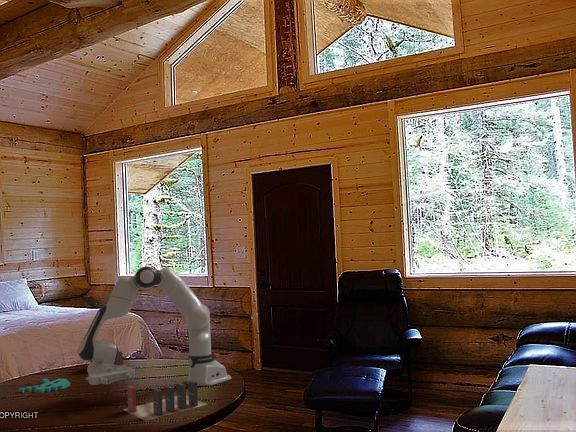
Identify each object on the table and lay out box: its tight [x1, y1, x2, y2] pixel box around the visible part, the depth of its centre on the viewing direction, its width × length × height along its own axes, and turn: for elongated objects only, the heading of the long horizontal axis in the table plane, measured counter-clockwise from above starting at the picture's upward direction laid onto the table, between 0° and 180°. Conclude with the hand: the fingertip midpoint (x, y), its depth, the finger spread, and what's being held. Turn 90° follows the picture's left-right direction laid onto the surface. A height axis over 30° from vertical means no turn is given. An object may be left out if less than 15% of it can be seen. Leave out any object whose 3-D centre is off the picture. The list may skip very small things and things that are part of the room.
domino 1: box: [152, 387, 163, 416], centre depth 225 cm, size 2×5×10 cm, turn 39°
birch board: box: [122, 395, 208, 422], centre depth 235 cm, size 29×22×1 cm
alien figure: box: [18, 378, 71, 394], centre depth 283 cm, size 20×2×20 cm
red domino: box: [126, 385, 137, 412], centre depth 232 cm, size 2×5×10 cm, turn 39°
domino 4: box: [187, 380, 199, 407], centre depth 236 cm, size 2×5×10 cm, turn 39°
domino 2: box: [164, 385, 175, 413], centre depth 229 cm, size 2×5×10 cm, turn 40°
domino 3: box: [176, 382, 187, 410], centre depth 232 cm, size 2×5×10 cm, turn 39°
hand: (118, 379), depth 242 cm, fingers open, 8 cm apart
